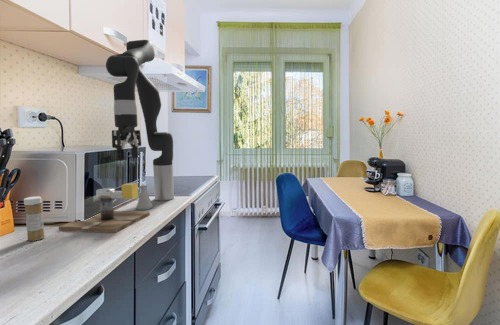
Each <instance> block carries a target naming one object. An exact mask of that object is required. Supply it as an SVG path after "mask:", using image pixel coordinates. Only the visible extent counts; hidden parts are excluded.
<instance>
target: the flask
mask: <svg viewBox="0 0 500 325" xmlns="http://www.w3.org/2000/svg"><path fill="white" fill-rule="evenodd" d="M147 188H148V185H139V190H140V191H139V192H140V193H139V196H138V201H137V204H136V207H135V210H140V211H142V210H143V211H144V210H151V209H153V208H154V206H153V203H152V201H151V199H150V198H151V197H150V196H149V194H148V189H147Z"/></svg>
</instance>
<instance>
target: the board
mask: <svg viewBox="0 0 500 325" xmlns="http://www.w3.org/2000/svg"><path fill="white" fill-rule="evenodd" d="M149 216H150V211H132V210H131V211H130V210H129V211H126V210H124V211H123V210H114V219H111V220H101V213H100V214H98V215H96V216H94V217H92V218H90V219H88V220H86V221H77V222H72V221H69V222H68V223H65V224H62V225H59V226H58V230H59V231H70V232H71V231H73V232H94V233H96V232H97V233H115V234H116V233H118V232H120V231H122V230H124V229H126V228H128V227H129V226H132V225H134V224H135V223H137V222H139V221H141V220H143V219H144V218H146V217H149Z"/></svg>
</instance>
